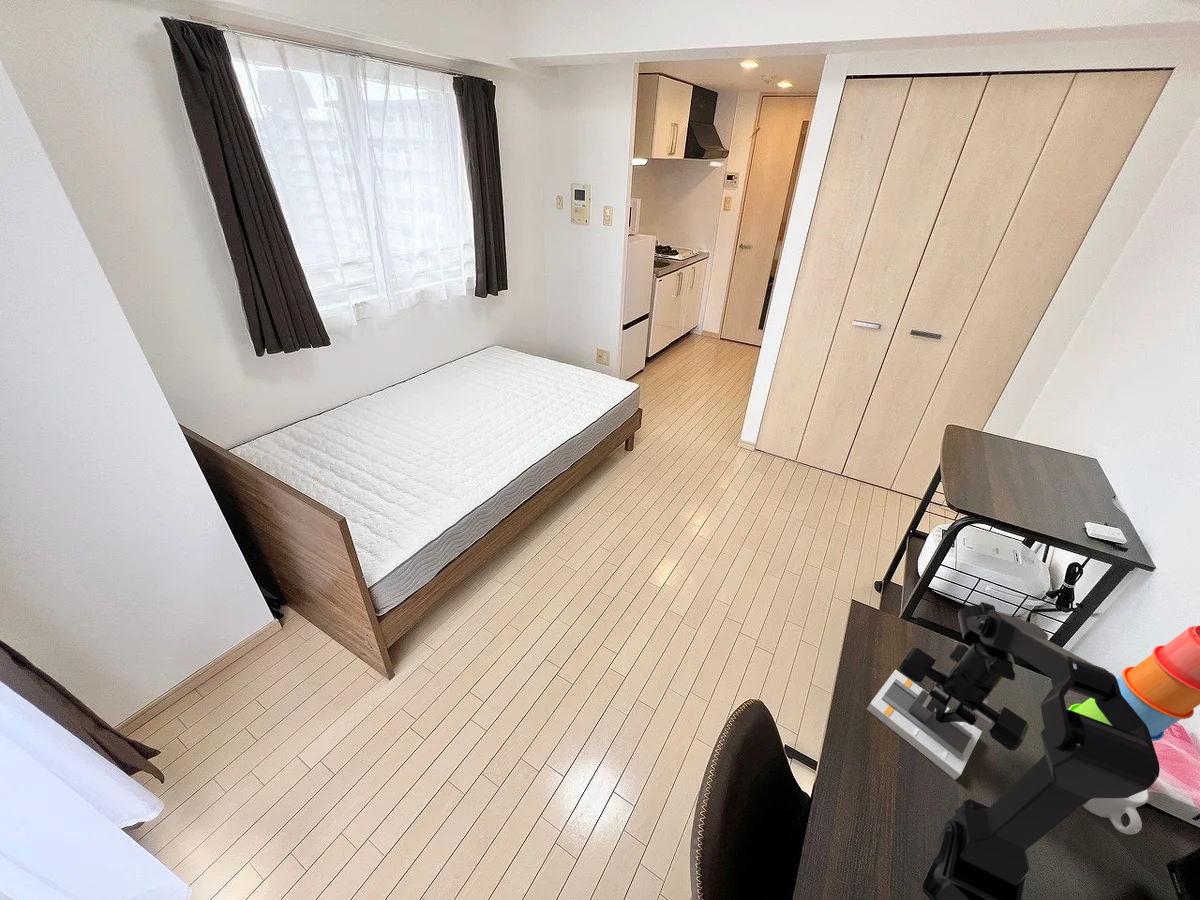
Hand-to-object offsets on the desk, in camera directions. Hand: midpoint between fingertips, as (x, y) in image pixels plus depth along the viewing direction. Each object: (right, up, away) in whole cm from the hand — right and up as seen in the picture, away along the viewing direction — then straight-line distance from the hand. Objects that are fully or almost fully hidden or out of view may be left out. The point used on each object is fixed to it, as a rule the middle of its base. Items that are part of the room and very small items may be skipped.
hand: (939, 720), depth 90 cm
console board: (-1, -2, +3) cm, 4 cm away
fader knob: (-2, 0, +2) cm, 3 cm away
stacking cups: (+26, -6, +1) cm, 27 cm away
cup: (+21, -11, -7) cm, 25 cm away
